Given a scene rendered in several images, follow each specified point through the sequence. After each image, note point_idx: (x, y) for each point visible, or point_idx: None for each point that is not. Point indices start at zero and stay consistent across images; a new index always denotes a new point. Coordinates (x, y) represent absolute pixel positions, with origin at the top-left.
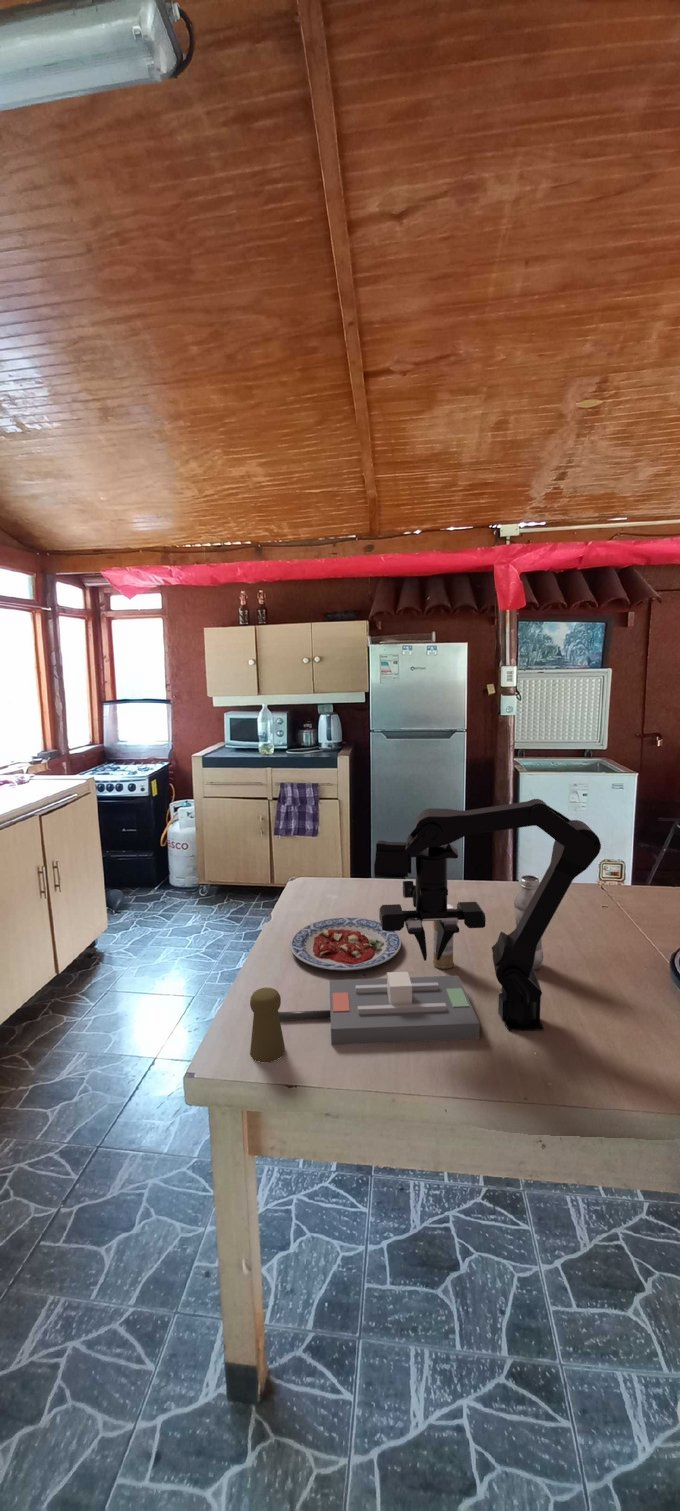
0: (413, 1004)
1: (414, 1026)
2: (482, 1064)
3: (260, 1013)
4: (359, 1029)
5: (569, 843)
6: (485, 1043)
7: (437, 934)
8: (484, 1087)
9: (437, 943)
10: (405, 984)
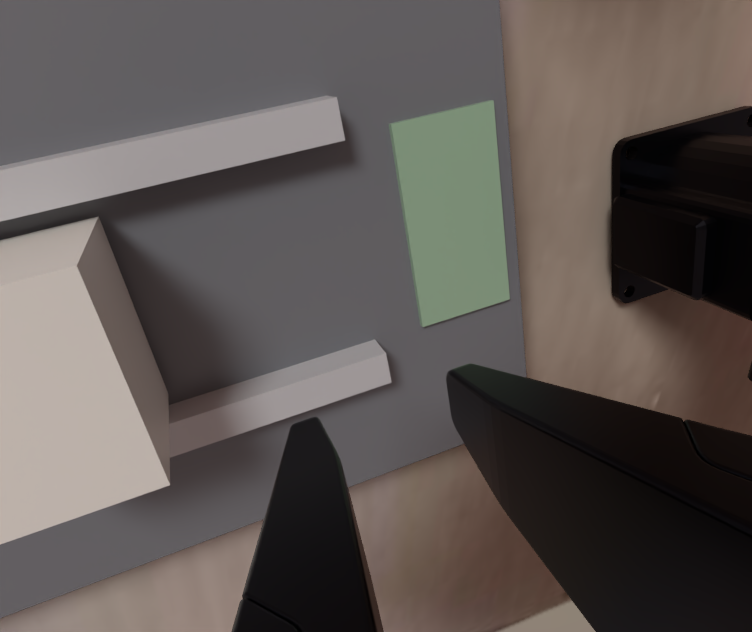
0: (183, 423)
1: (212, 536)
2: (477, 511)
3: None
4: None
5: None
6: None
7: (689, 509)
8: (466, 600)
9: (575, 497)
10: (106, 484)
